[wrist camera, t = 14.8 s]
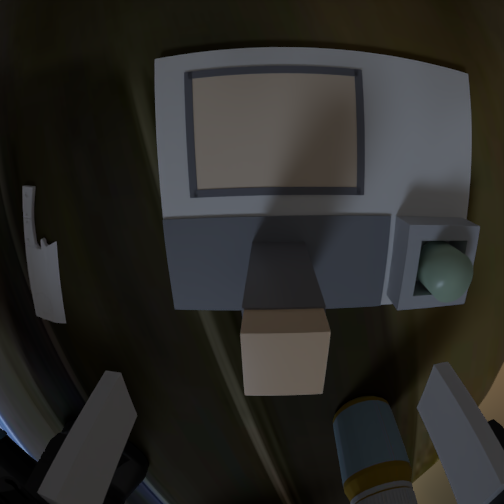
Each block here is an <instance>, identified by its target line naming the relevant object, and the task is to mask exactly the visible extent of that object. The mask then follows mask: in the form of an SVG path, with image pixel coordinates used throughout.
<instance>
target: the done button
mask: <svg viewBox="0 0 504 504" xmlns="http://www.w3.org/2000/svg"><path fill="white" fill-rule="evenodd" d="M416 277H417V278H418V280H419V281H420V282H421V283H422V284H423V285H424V286H425V287H426V288H427V289H428V290H429V292H430V293H431V294H432V295H433V296H434V297H435V298H436V299H437V300H438V301H440V302H444V303H448V302H452V301H455V300H457V299H458V298H460V297H461V296H462V295H463V294H464V293H465V292H466V290H467V289H468V287H469V285H470V283H471V281H472V277H473V265H472V262H471V260H470V259H469V257H468V256H466V255H465V254H463V253H462V252H460V251H459V250H458V249H456V248H455V247H453V246H452V245H450V244H449V243H447V242H446V241H430V242H428V243H427V244H426V245H424V246H423V247H422V249H421V250H420V257H419V264H418V270H417V276H416Z"/></svg>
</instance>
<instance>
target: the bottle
mask: <svg viewBox="0 0 504 504" xmlns="http://www.w3.org/2000/svg"><path fill="white" fill-rule="evenodd" d="M333 427H334V433H335V439H336V445H337V451H338V457H339V463H340V469H341V476H342V482H343V488H344V493H345V494H346V496H347V497H348V499H349V500H350V504H417V500H416V497H415V493H414V491H413V487H412V483H411V475H412V469H411V465H410V462H409V459H408V456H407V453H406V450H405V447H404V444H403V441H402V439H401V436H400V433H399V430H398V427H397V424H396V422H395V419H394V416H393V413H392V411H391V408H390V406H389V404H388V402H387V401H386V400H385V399H383V398H380V397H376V396H362V397H357V398H355V399H353V400H350V401H348V402H347V403H346V404H344V405H343V406H342V407H341V408H340V409H339V410H338V411H337V412H336V414H335V416H334V418H333Z"/></svg>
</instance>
